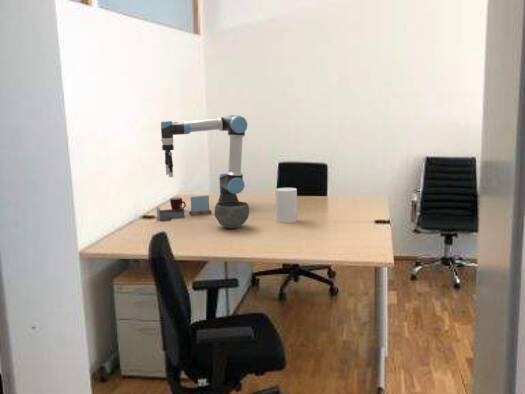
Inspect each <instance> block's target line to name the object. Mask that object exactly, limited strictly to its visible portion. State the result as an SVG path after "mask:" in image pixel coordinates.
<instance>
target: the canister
mask: <svg viewBox="0 0 525 394" xmlns="http://www.w3.org/2000/svg"><path fill="white" fill-rule="evenodd" d="M297 190H298V189H297V188H296V187H278V188H275V189H274V194H275V195H274V197H275V198H274V199H275V222H277V223H279V224H280V223H281V224H292V223H296V222H298V191H297Z"/></svg>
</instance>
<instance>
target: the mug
mask: <svg viewBox="0 0 525 394" xmlns="http://www.w3.org/2000/svg"><path fill="white" fill-rule="evenodd" d="M169 201H170V207H171V209H179V205H181V206H182V207H183V208H184V209H185V208H186V207H187V204H186V202H185V200H184V201H183V197H170V199H169Z"/></svg>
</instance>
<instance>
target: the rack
mask: <svg viewBox="0 0 525 394" xmlns="http://www.w3.org/2000/svg"><path fill="white" fill-rule="evenodd" d="M183 207H184V206H183V205H182V206H181V205H179V209H172V208H171V209H163V210H162V209H161V208H160V207H159V206H156V217H157V219H158V221H160V222H164V221H166V222H167V221H172V219H181V218H185V208H183Z"/></svg>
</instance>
